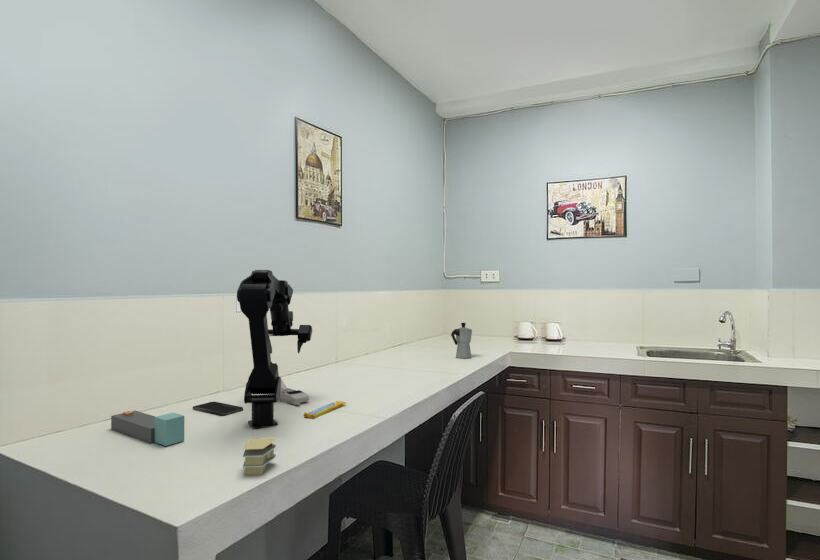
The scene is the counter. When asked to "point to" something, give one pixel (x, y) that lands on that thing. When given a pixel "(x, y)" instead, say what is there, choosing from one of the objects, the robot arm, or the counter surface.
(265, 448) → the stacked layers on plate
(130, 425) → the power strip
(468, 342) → the coffee maker
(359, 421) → the counter surface
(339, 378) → the counter surface
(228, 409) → the phone
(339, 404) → the candy bar
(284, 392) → the mobile phone
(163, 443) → the block
